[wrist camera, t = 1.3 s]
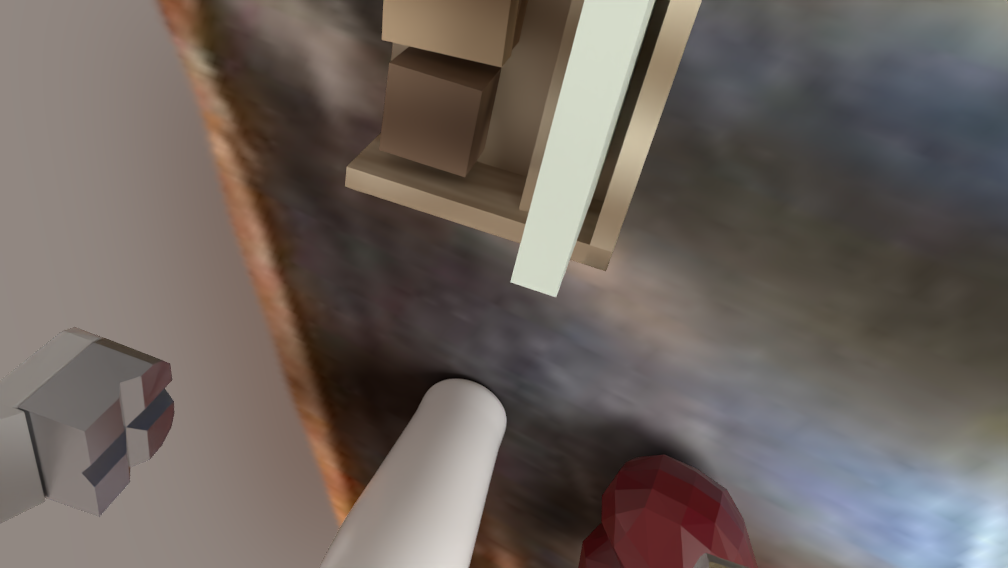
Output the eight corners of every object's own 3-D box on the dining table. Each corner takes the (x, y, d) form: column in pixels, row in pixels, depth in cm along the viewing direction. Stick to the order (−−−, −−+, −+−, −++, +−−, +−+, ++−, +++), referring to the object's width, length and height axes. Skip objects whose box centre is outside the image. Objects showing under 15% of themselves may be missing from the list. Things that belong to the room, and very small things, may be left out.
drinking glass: (531, 449, 47) (456, 682, 35) (431, 447, 50) (329, 665, 38) (507, 363, 44) (415, 587, 32) (401, 364, 46) (278, 575, 34)
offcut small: (415, 41, 33) (389, 62, 31) (501, 67, 33) (482, 91, 31) (404, 124, 36) (378, 149, 33) (484, 149, 35) (465, 177, 33)
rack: (446, -312, 27) (391, -326, 23) (776, -227, 26) (781, -225, 22) (389, 140, 38) (345, 186, 34) (622, 214, 37) (605, 271, 33)
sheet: (657, -149, 27) (612, -108, 18) (700, -138, 27) (676, -91, 18) (571, 149, 34) (510, 282, 26) (606, 160, 34) (555, 297, 25)
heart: (808, 480, 42) (638, 407, 44) (793, 597, 36) (598, 507, 38) (730, 594, 49) (588, 527, 51) (707, 707, 43) (548, 626, 45)
